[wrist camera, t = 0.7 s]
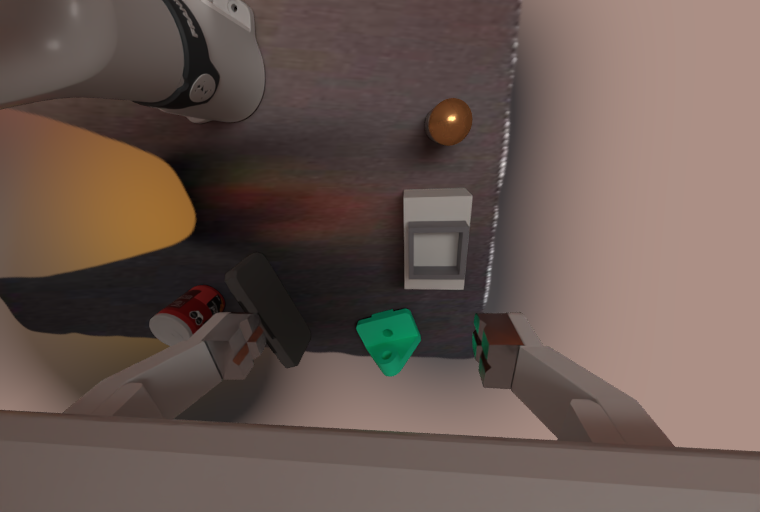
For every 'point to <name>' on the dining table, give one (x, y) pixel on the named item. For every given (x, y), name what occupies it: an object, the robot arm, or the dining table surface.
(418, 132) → the dining table surface
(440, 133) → the glass jar
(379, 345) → the camera mount
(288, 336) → the handheld gaming console
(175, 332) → the canned food
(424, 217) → the grey pedestal block
